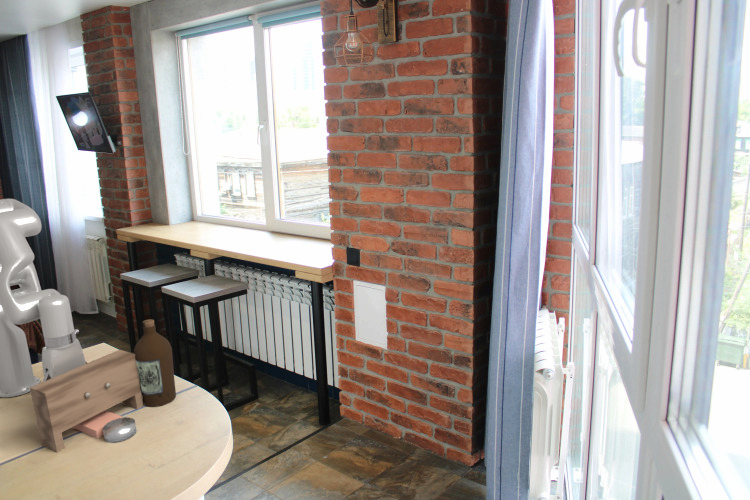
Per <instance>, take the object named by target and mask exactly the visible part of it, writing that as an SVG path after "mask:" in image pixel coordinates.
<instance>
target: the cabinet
mask: <svg viewBox="0 0 750 500" xmlns="http://www.w3.org/2000/svg"><path fill="white" fill-rule="evenodd" d="M133 353H134V352H130V351H127V350H126V351H125V350H122V349H118V350H115V351H113V352H111V353H108V354H106V355H103V356H101V357H98V358H97V359H94V360H91V361H90V362H87V364H85V365H82V366H80V367H77V368H75V369H73V370H70V371H68V372H66V373H63V374H61V375H59V376H56V377H54V378H51V379H49V380H47V381H44V382H43V381H41V383H40V384H37V385H35V386H33V387H30V390H31V391H30V394H31V400H32V403H33V409H34V415H35V420H36V424H37V428H38V433H39V438H40V443H41V446H43V447H45V448H47V449H50V450H52V451H53V452H55V453H58V452H60V451H62V450H65V441H64V439H63V433H64V432H65V431H68V430H69V429H72V427H73V426H75V425H77V424H79V423H81V422H83V421H85V420H87V419H89V418H91V417H93V416H95V415H97V414H99V413H101V412H103V411H105V410H106V411H108V409H110V408H112V407H114V406H116V405H118V404H120V403H121V404H122V405H123V406H127V407H130V408H133V409H136V410H138V409H141V408H142V407H143V406H144V403H143V400H142V394H141V389H140V383H139V376H138V370H137V364H136V359H135V354H133Z"/></svg>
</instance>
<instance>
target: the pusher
mask: <svg viewBox="0 0 750 500" xmlns="http://www.w3.org/2000/svg"><path fill="white" fill-rule="evenodd" d="M118 418H124V417H123V415H119V414H116V413H114V412H111V411H109V410H105V411H103V412H101V413H99V414H97V415H95V416H93V417H91V418H89V419H87V420H85V421H83V422H81V423H79V424H77V425H75V426H73V427H71V429H75V430H77V431H80V433H81V432H82V433H84V434H87V435H89V436H91V437H93V438H95V439H99V438H101V437H102V436H104V434H103V427H104V426H105V425H106V424H107V423H108V422H110V421H112V420H115V419H118Z"/></svg>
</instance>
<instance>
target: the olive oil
mask: <svg viewBox="0 0 750 500" xmlns="http://www.w3.org/2000/svg"><path fill="white" fill-rule="evenodd" d="M142 325H143V326H142V330H143V334H142V336H141V338H140V339H139V340H138V341H137V342H136V344H135V346H134V349H133V352H132V353H133V354H135V359H136V364H137V370H138V376H139V383H140V389H141V395H142V402H143V406H146V407H150V408H151V407H152V408H154V407H156V408H157V407H162V406H164V405H168V404H170V403H171V402H173V401H174V400H175V399H176V396H177V392H176V381H175V372H174V359H173V348H172V346H171V343H170V341H169V340H168V339H167V338H166V337H164V336H163V335H161V334H159V333H158V332H157V331H156V329H157V328H156V324H155V320H154V319H145V320H143V321H142Z"/></svg>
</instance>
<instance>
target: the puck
mask: <svg viewBox="0 0 750 500" xmlns="http://www.w3.org/2000/svg"><path fill="white" fill-rule="evenodd" d="M137 431H138V430H137V424H136V421H135V419H134V418H132V417H127V416H126V417H123V418H118V419H115V420H112V421H110V422H108V423H107V424H106V425H105V426H104V427H103V434H104V435H103V438H104V441H105V442H106V443H109V444H115V443H116V444H117V443H121V442H125V441H127V440H130V439H131V438H133V437H134V436H135V435H136V434H137Z"/></svg>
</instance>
